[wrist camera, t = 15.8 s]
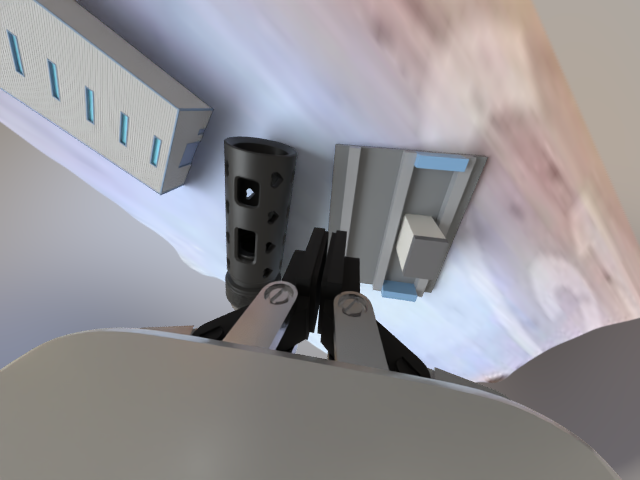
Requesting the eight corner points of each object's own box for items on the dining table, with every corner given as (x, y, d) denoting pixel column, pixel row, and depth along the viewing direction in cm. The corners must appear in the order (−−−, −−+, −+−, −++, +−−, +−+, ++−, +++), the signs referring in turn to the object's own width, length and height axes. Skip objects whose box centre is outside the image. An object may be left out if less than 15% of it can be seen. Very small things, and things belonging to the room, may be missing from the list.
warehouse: (2, 58, 34) (-83, 46, 27) (-9, -67, 27) (-126, -123, 20) (184, 184, 40) (150, 199, 33) (215, 109, 33) (179, 109, 26)
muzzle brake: (307, 147, 33) (288, 161, 24) (284, 284, 48) (268, 325, 39) (245, 132, 33) (204, 141, 25) (241, 273, 48) (215, 311, 39)
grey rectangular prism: (404, 213, 35) (415, 238, 28) (431, 216, 34) (448, 243, 28) (395, 246, 38) (403, 276, 31) (420, 249, 37) (433, 280, 31)
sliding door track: (336, 143, 32) (333, 148, 29) (484, 155, 30) (500, 161, 27) (325, 274, 45) (322, 288, 41) (429, 289, 43) (435, 304, 39)
